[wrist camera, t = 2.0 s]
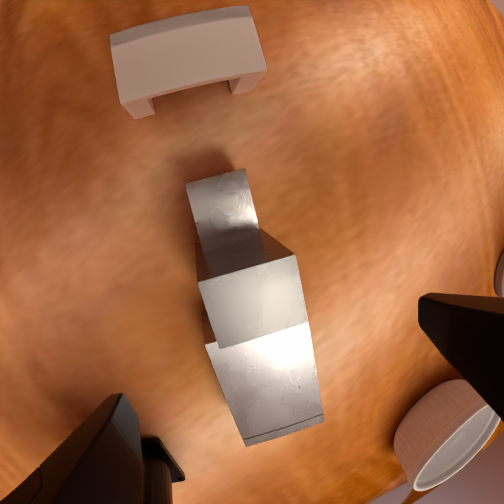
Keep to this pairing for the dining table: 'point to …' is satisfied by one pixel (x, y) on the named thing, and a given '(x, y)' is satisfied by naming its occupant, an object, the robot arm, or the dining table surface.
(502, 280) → the travel mug
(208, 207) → the grey l-shaped block
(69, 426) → the dining table surface
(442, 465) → the ramekin
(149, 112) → the grey rectangular block
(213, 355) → the sleeve
